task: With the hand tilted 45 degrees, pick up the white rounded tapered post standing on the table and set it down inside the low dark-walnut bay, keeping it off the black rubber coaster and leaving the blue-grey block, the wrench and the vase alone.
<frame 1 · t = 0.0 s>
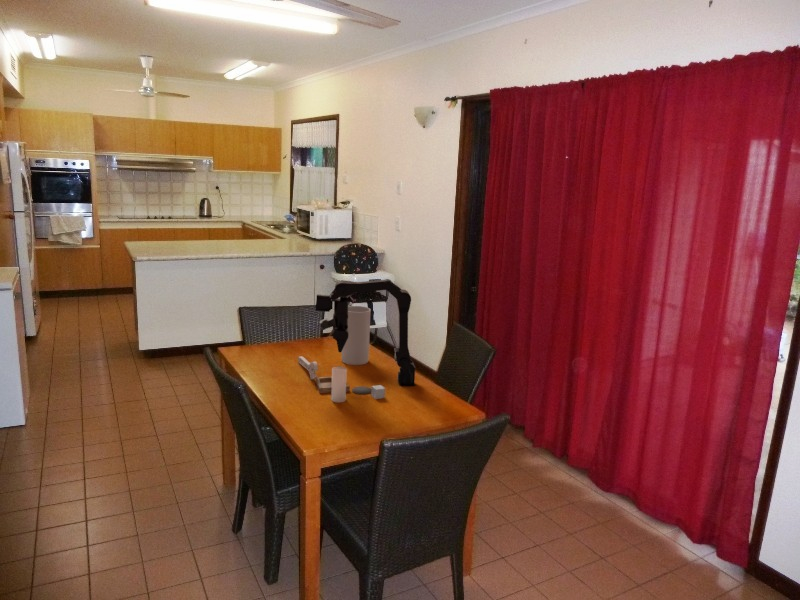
hand: (339, 348, 237), 15 cm above the table, tool pointing down, fingers open, 9 cm apart
bay: (332, 386, 235), on the table
block: (377, 396, 228), on the table
cylinder vase: (355, 361, 269), on the table
coaster: (362, 390, 233), on the table
wrench: (307, 372, 251), on the table, touching bay
white rounded tapered post: (338, 399, 222), on the table
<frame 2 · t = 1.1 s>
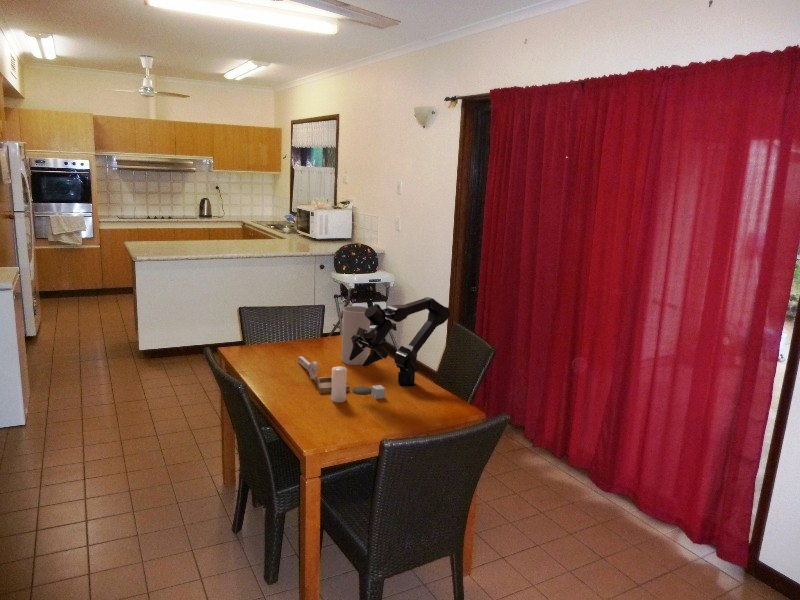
hand: (356, 363, 225), 13 cm above the table, tool tilted 45°, fingers open, 9 cm apart
nothing on the table moved.
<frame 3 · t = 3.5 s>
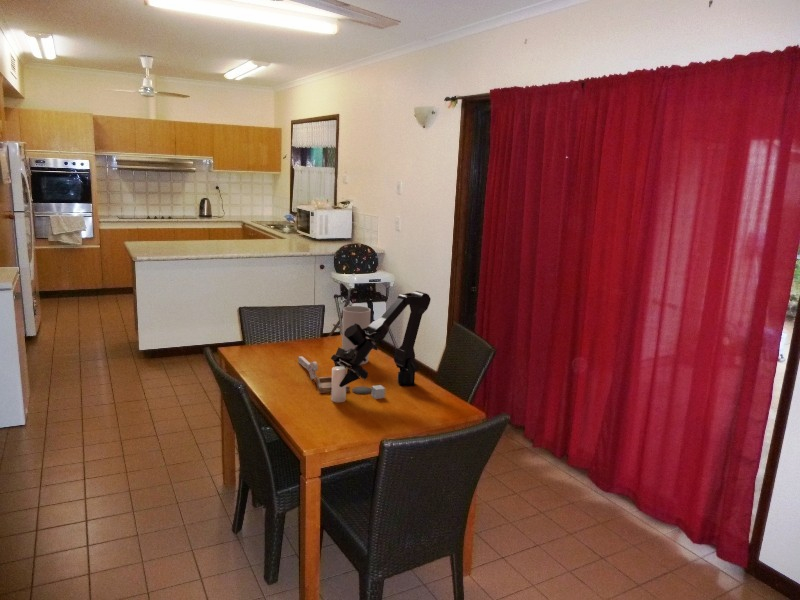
hand: (335, 384, 220), 7 cm above the table, tool tilted 45°, fingers closed on white rounded tapered post, 6 cm apart
white rounded tapered post: (338, 399, 222), on the table, touching gripper
everything else where it was.
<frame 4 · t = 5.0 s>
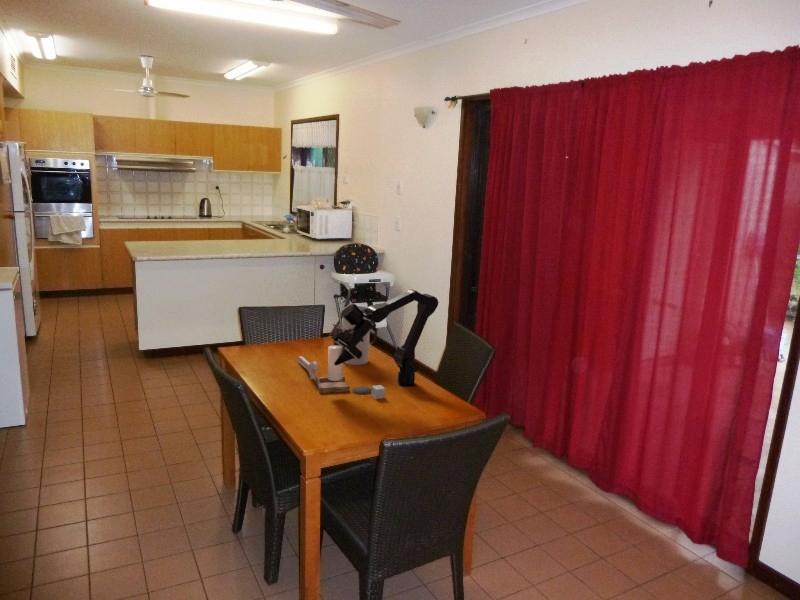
hand: (332, 362, 224), 13 cm above the table, tool tilted 45°, fingers closed on white rounded tapered post, 6 cm apart
white rounded tapered post: (334, 378, 226), point 7 cm above the table, touching gripper
everything else where it was.
when the fingers open (8 cm above the table, at t = 6.8 s): white rounded tapered post drops 1 cm, resting on bay.
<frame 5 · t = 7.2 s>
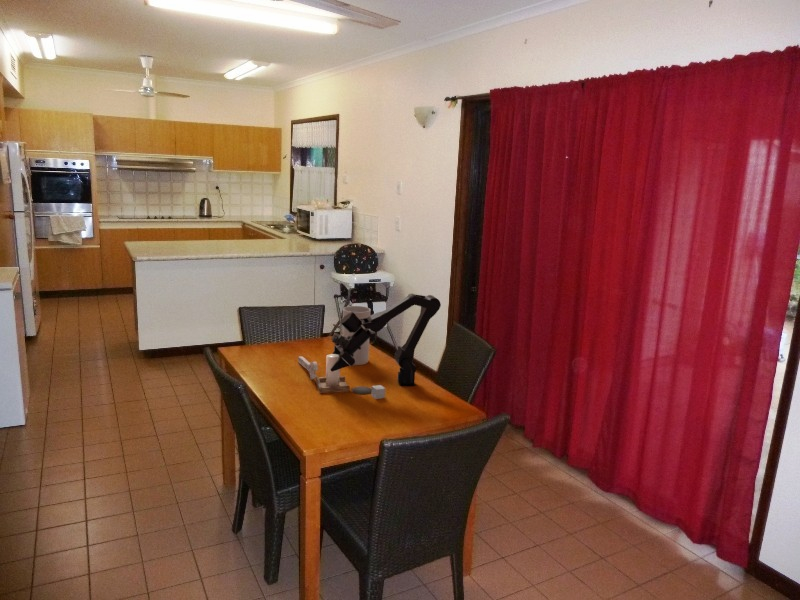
hand: (329, 367, 233), 9 cm above the table, tool tilted 45°, fingers open, 9 cm apart
white rounded tapered post: (332, 385, 235), point 1 cm above the table, touching bay
everything else where it was.
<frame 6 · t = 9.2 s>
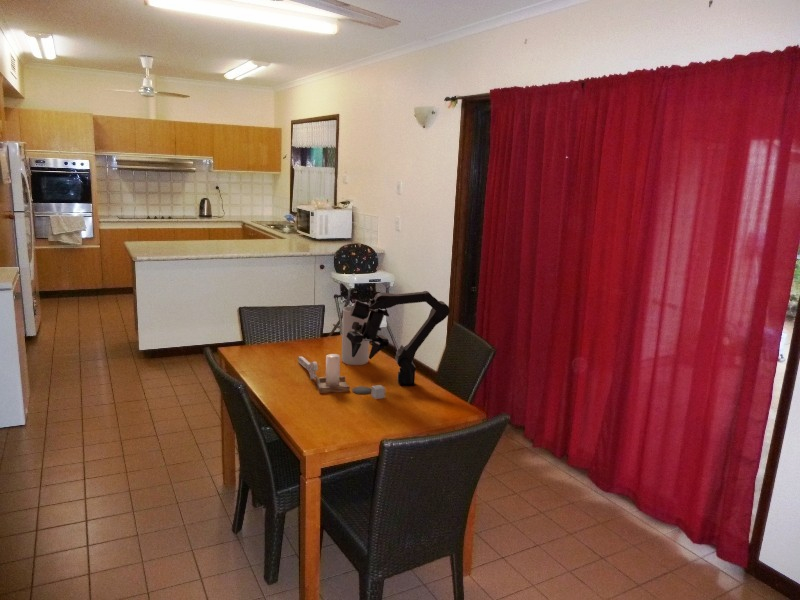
hand: (361, 357, 238), 11 cm above the table, tool tilted 15°, fingers open, 9 cm apart
nothing on the table moved.
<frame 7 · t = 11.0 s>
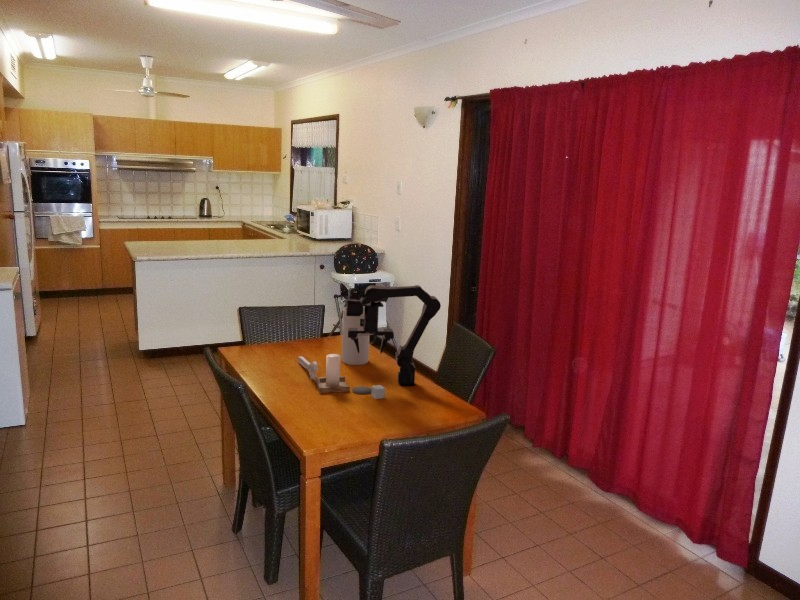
hand: (369, 353, 239), 13 cm above the table, tool pointing down, fingers open, 9 cm apart
nothing on the table moved.
at the end: white rounded tapered post inside the target area on the bay (0.2 cm from its centre), point 0.6 cm above the bay's base; white rounded tapered post tilted 1°; the gripper is holding nothing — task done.
